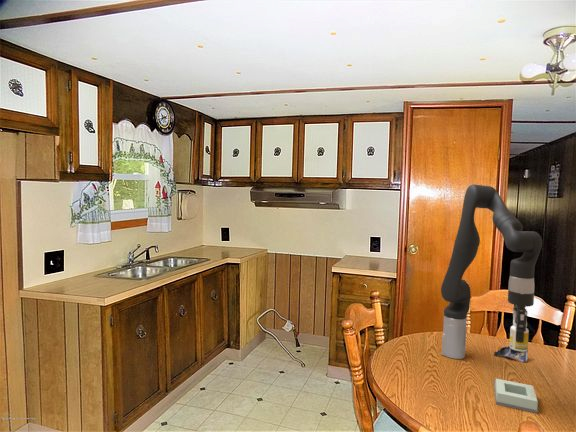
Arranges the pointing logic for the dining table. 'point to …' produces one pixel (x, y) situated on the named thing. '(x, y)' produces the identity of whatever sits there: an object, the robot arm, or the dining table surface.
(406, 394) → the dining table surface
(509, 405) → the socket board
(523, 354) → the snack package
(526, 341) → the supplement bottle
